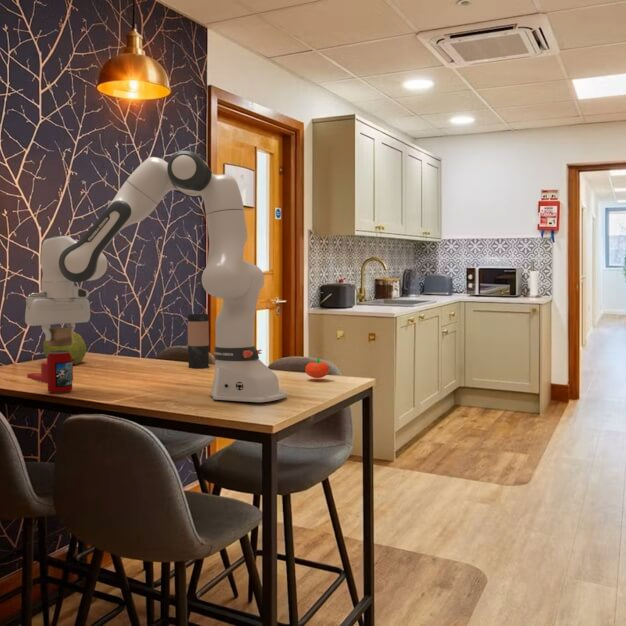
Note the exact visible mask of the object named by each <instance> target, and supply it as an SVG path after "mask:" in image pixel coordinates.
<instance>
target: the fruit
mask: <svg viewBox="0 0 626 626" xmlns="http://www.w3.org/2000/svg"><path fill="white" fill-rule="evenodd" d="M42 348H43V349H42V350H43V353H44V356H45V357H46V358H47V357H48V355H49V352H50V351H59V350H66V351H69V353H70V355H71V356H72V362H73V364H76V365H79V364H80V363H81V362H82V361H83V360H84V358H85V356H86V354H87V348H88V347H87V345H86V343H85V340H84V338H83V336H81V334H79V333H77V332H75V331H73V332H72V345H68V346H58V347H56V346H46V337H45V338H44V340H43V344H42Z"/></svg>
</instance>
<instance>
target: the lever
mask: <svg viewBox="0 0 626 626" xmlns="http://www.w3.org/2000/svg"><path fill="white" fill-rule="evenodd" d="M73 367H74V366H73V362H72V380H73V381H74V368H73ZM27 378H28V379H30V378H31V380H34V381H37V380H38V382H40V381H41V383H43V382H45V383H44V384H48V380H47V361H43V362H41V363H40V372H32V373H31V372H30V373H27Z"/></svg>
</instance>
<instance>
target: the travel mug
mask: <svg viewBox="0 0 626 626" xmlns="http://www.w3.org/2000/svg"><path fill="white" fill-rule="evenodd" d="M209 324H210V323H209V313H190V314H187V358H188V361H187V362H188V368H189V369H192V370H193V369H194V370H204V369H209V364H210V363H209V362H210V360H209V357H210V354H209V353H210V338H209V337H210V335H209V332H210V331H209V327H210V326H209Z"/></svg>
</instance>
